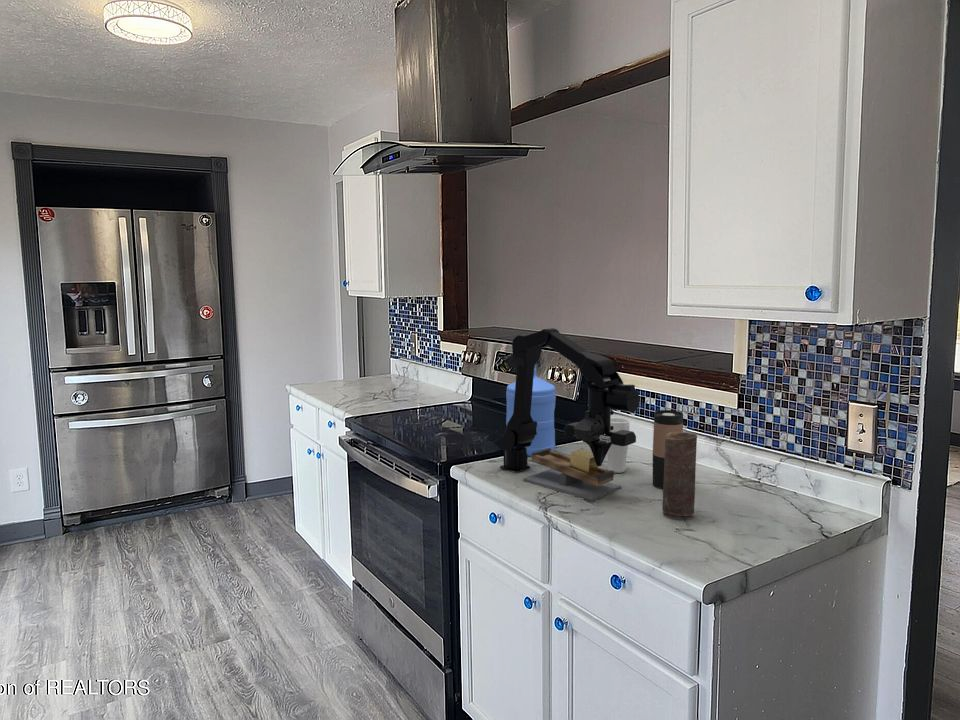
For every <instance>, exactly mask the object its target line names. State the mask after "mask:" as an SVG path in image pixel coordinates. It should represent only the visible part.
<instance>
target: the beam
mask: <svg viewBox="0 0 960 720" xmlns="http://www.w3.org/2000/svg"><path fill="white" fill-rule="evenodd" d="M570 459H571V456H568V455H565V454H563V453H560V452H557V451H555V450H554V451H552V450H551V448H546V449H543V450H539V451H536V452H533V453H532V456H531V462H532V463H535V464H538V465H541V466H543V467H546V468H549V469H553V470H556V471H559V472H561V473H564V474H567V475H569V476H572V477H574V478H577V479H580V480H582V481H585V482H588V483H590V484H593V485H595V486H600V485H603V484H605V483H607V482H609V483H611V482H612V481H613V480H614V476H615V473H614V471H612V470H610V471H608V470H607V469H604V468H601V467H600V466H598V473H596V474H593V475H590V474H588V473H585V472H582V471H580V470H577V469H574V468H572V467H570Z"/></svg>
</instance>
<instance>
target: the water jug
mask: <svg viewBox="0 0 960 720" xmlns="http://www.w3.org/2000/svg"><path fill="white" fill-rule="evenodd" d="M536 366H537V363H536V364H535V367H534V377H533V390H532V402H531V417H532V419H533V421H536V422H537V428H536V432H537V435H535V438H534V440H532V443H531V446H529V447H525V448H527V455H528V457H532V453H533V452H536V451H539V450H543V449H546V448H551V450H552V451H554V452H555V451H556V430H555V408H556V400H557V395H556V394H557V393H556V386H555V385H554V384H552V383H550V382H548V381H545V380H544V379H542V378H540V377H538V376H537V368H536ZM515 385H516V381H514V382H512V383H509V384H508V385H507V387H506V393H505V394H506V397H505V398H506V416H505V417H506V418H505V420H506V421H505V424H506V426H507V424H508V422H509V420H510V418H511V417H512V415H513V411H514V398H515Z"/></svg>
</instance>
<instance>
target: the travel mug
mask: <svg viewBox="0 0 960 720" xmlns="http://www.w3.org/2000/svg"><path fill="white" fill-rule="evenodd" d="M653 416H654V418H653V435H652V436H653V437H652V438H653V439H652V485H653V487H654V488H657V489H661V490H663V482H664V461H665V437H666V435H667V434H668V433H670V432H679V433H681V432H683V431H684V412H681V411H679V410H671V409H660V410H655V411H654V412H653Z"/></svg>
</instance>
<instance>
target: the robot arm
mask: <svg viewBox="0 0 960 720" xmlns="http://www.w3.org/2000/svg"><path fill="white" fill-rule="evenodd" d="M545 347H550V349H552V350H554V351H555V352H557V353H558V354H560V355H561V356H563V358H566V359H567V360H568V361H570V362H571V363H572V364H574V365H575V366H576V367H577V368H578V370H579V373H580V374H581V375H582V376H584V378H585V379H586V381H585V383H583V384H582V385H581V386H580V387H581V389H583V390H588V392H587V393H588V394H587V395H588V396H587V397H588V398H587V402H588V405H587V406H588V407H587V409H588V410H586V411H585V412H584V418H583V419H581V420H579V422H578V421H575V422H572V423H568V424H566V425H565V427H564V430H563V431H564V436H566V437H570V438H571V437H572V438H574V437H575V439H576V440H577V441H578V440H581V441H582V442H583V443H586V445H588V446H589V448H590V452H592V453H593V456H594V459H595V462H596V465H597V466H598V467H602V465H603V463H604V460H605V459H606V457H607V452H608V450H609V448H610V447H611V445H612V444H613V445H618V446H627V445H628V446H630V445H633V444H636V443H637V435H636V433H635V432H634V431H632V430H629V431H626V430H620V431H617V432H610V431H611V430H613V426H611V418H612V417H611V416H612V415H614V412H615V411H621V412H626V413H635V412H637V410H638V408H639V405H640V402H641V401H640V398H641V397H640V396H639V392H638V390H636V386H635V384H624V382H623V379H622V378H621V376H620V375H619V373H618V371H617V370H616V368H615V363H614V361H613V360H612V359H610V358H608V357H606V356H604V355H601V354H598V353H594V352H590V351H588V350H587V349H585V348H584V347H583V346H581V345H579V344H578V343H576V342H574V341H573V340H571V339H570V338H569V337H567V336H565V335H564V334H562V333H561V332H560V331H559V330H558V329H557V328H554V327H552V328H543V329H542V330H539V331H536V332H535V333H529V334H521V335H520V334H518V335H517V336H515V337H514V338H513V340H512V342H511V349H512V350H511V351H512V357H513V360H514V361H515V364H516V373H515V375H516V376H515V382H516V385H515V398H514V411H513V415H512V417H511V418H510V420H509V422H508V424H507V425H506V429H505V433H504V435H503V436H501V438H500V439H499V440H498V442H497V444H498V447H499V450H503V465H500V466H499V468H500V469H502V470H506V471H508V472H509V471H510V472H513V473H518V472H521V471H524V470H527V469H530V468H531V465H528V461H529V460H528V457H529V456H528V455H527V448H525V447H529V446H531V443H532V440H534V438H535V435H537V432H536V428H537V422H536V421H533V419H532V417H531V402H532V390H533V377H534V367H535V364H536V365H537V363H538V362H539V359H540V357H541V354H542V350H543V348H545Z"/></svg>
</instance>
